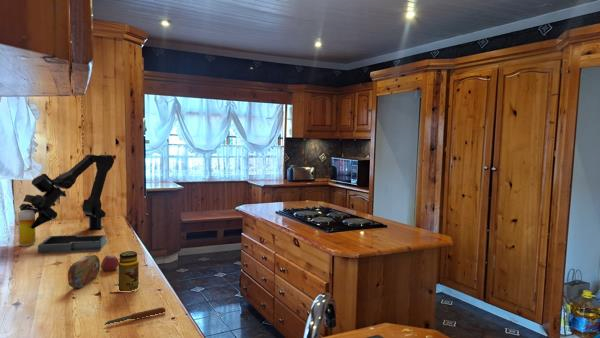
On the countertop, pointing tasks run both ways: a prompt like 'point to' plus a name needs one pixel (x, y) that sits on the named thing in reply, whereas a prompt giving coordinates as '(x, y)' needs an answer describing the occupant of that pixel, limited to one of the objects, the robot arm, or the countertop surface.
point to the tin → (83, 271)
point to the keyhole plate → (72, 244)
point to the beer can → (26, 228)
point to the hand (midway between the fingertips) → (24, 226)
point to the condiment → (128, 271)
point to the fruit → (109, 263)
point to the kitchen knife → (138, 315)
